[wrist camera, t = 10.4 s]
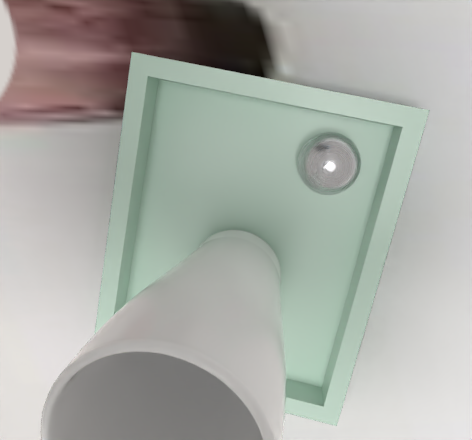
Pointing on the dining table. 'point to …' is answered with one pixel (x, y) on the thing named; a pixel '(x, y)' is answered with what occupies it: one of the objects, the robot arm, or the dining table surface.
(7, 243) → the dining table surface
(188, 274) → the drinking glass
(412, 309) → the dining table surface
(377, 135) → the tray
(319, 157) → the shiny metal ball
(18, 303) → the dining table surface
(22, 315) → the dining table surface
